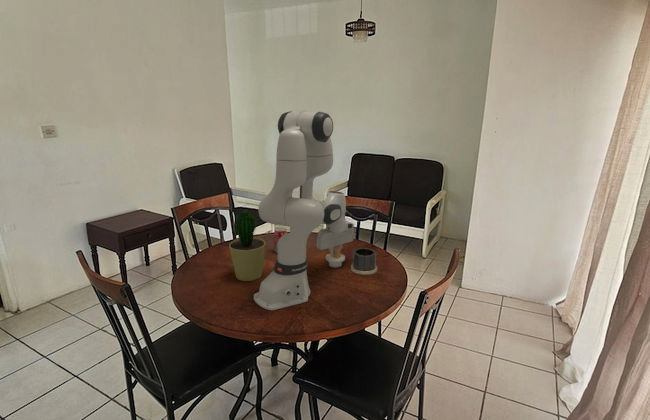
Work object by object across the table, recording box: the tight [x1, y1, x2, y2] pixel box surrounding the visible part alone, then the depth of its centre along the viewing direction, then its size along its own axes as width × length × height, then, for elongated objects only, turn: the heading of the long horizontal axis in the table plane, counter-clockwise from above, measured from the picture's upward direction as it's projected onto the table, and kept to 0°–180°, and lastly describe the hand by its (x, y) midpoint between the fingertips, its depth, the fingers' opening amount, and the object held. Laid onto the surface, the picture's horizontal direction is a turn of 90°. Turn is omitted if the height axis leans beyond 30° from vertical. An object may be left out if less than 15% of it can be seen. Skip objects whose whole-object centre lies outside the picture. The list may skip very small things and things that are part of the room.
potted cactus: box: [228, 210, 267, 282], centre depth 157 cm, size 15×15×30 cm
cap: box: [325, 246, 346, 269], centre depth 172 cm, size 9×9×8 cm
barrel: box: [350, 247, 378, 276], centre depth 167 cm, size 12×12×8 cm
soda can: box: [273, 227, 288, 253], centre depth 187 cm, size 7×7×12 cm
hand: (335, 253), depth 171 cm, fingers closed on cap
